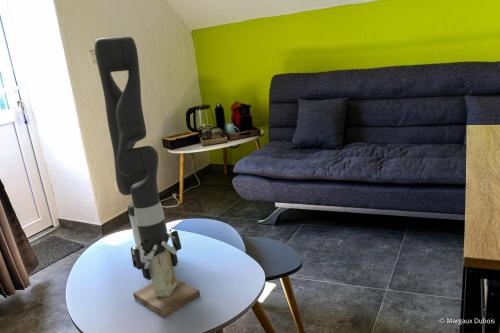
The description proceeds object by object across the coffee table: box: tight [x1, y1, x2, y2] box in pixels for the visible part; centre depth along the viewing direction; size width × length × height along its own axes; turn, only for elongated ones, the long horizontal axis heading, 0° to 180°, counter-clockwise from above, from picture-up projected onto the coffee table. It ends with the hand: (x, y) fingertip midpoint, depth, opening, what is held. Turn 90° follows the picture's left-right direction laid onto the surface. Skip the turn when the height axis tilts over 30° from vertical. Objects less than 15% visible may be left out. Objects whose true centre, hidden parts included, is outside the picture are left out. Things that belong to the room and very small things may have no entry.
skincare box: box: [148, 249, 177, 297], centre depth 121 cm, size 6×4×12 cm
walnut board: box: [132, 277, 201, 319], centre depth 123 cm, size 16×12×2 cm
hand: (161, 272), depth 121 cm, fingers open, 8 cm apart
